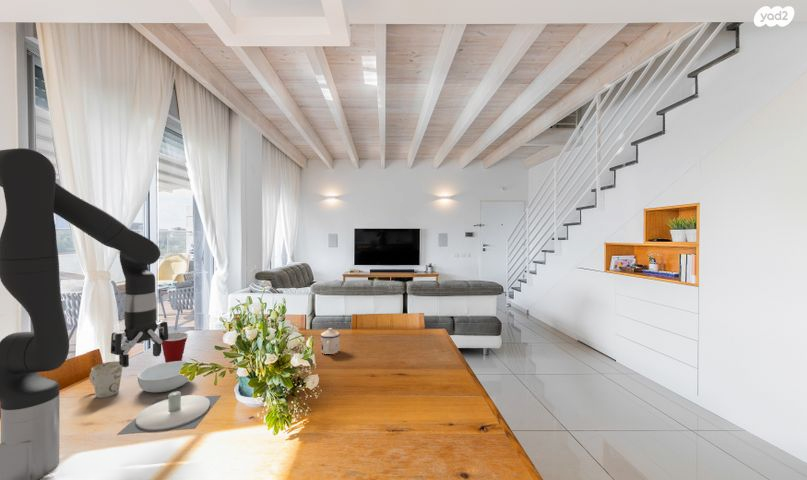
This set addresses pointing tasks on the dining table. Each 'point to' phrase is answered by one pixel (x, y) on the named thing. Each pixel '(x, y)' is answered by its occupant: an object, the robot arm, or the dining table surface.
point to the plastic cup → (174, 346)
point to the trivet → (191, 425)
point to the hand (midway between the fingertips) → (141, 360)
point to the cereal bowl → (162, 377)
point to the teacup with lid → (330, 341)
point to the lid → (172, 412)
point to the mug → (106, 378)
